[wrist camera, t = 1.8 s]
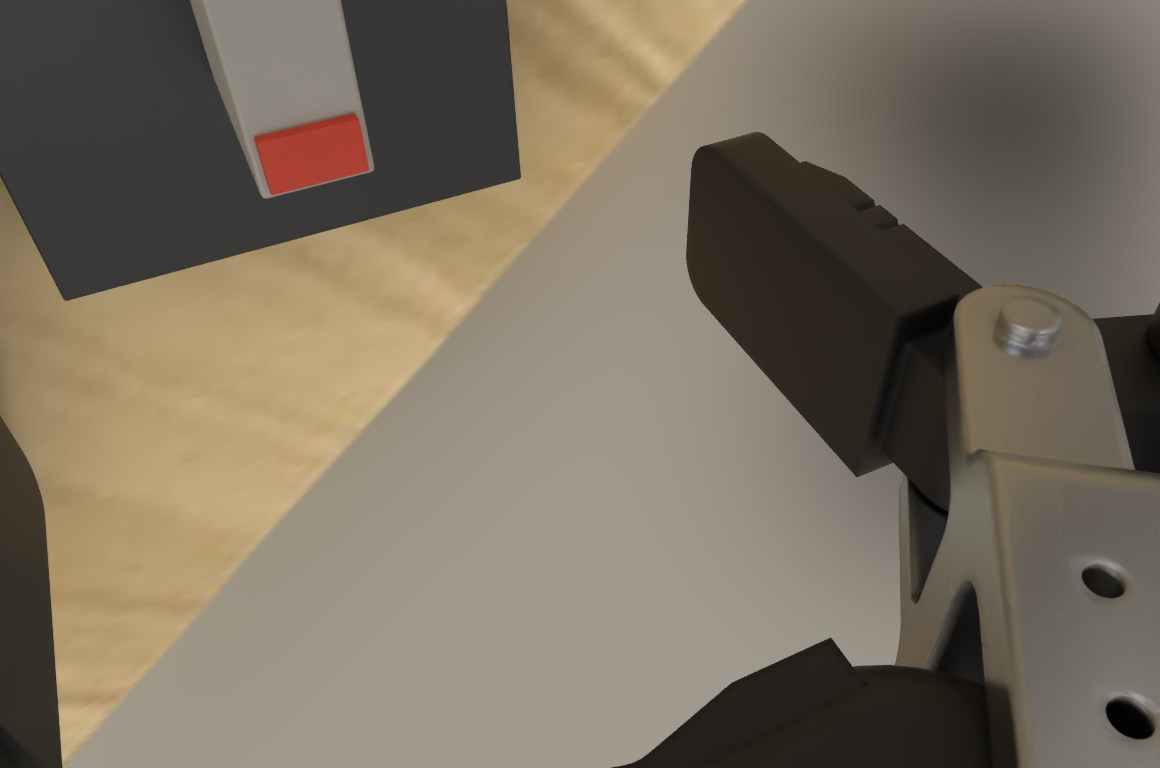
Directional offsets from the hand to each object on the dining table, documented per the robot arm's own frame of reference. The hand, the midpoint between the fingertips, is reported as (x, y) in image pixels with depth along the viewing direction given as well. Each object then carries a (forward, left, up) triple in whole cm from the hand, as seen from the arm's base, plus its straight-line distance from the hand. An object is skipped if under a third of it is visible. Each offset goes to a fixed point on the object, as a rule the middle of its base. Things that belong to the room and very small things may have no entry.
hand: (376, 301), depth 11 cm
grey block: (-1, 0, -11) cm, 11 cm away
